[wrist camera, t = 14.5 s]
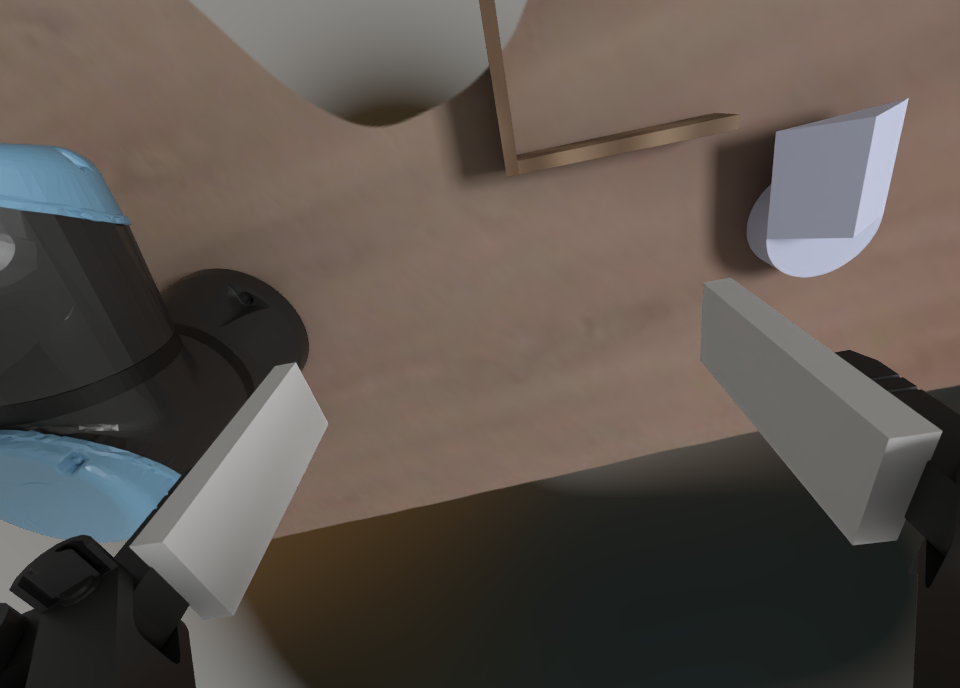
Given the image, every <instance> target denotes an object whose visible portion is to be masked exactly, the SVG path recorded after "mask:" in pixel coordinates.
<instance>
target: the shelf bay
mask: <svg viewBox="0 0 960 688" xmlns="http://www.w3.org/2000/svg"><path fill="white" fill-rule="evenodd" d="M479 3H480V10H481V16H482V22H483V29H484V35H485V41H486V48H487V54H488V61H489V67H490V73H491V80H492V86H493V92H494V99H495V105H496V111H497V118H498V124H499V131H500V137H501V143H502V150H503V156H504V162H505V169H506V175H507V177H509V176H514V175H519V174H523V173H528V172H533V171H538V170H543V169H548V168H553V167H558V166H562V165H567V164H572V163H577V162H582V161H587V160H592V159H596V158H601V157H606V156H611V155H616V154H621V153H626V152H630V151H635V150H640V149H645V148H650V147H655V146H660V145H664V144H669V143H674V142H679V141H684V140H689V139H694V138H698V137H703V136H708V135H713V134H718V133H723V132H728V131H733V130H737V129H738V127H739V116H740V114H723V113H713V114H708V115H704V116H699V117H694V118H689V119H685V120H680V121H675V122H671V123H666V124H661V125H656V126H652V127H647V128H642V129H638V130H633V131H628V132H623V133H619V134H614V135H609V136H604V137H600V138H595V139H590V140H586V141H581V142H576V143H571V144H567V145H562V146H557V147H553V148H548V149H543V150H538V151H534V152H529V153H524V154H519V155H516V149H515V142H514V135H513V128H512V121H511V114H510V107H509V100H508V93H507V86H506V79H505V72H504V65H503V58H502V51H501V44H500V37H499V30H498V23H497V16H496V9H495V2H494V0H479Z"/></svg>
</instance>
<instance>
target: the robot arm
mask: <svg viewBox="0 0 960 688" xmlns="http://www.w3.org/2000/svg"><path fill="white" fill-rule="evenodd" d="M129 225H131V223H130V220H129V219H128V217H126V216H124V215H123V213H122V211H121V210H120V208H119V206H118V204H117V202H116V201H115V199H114V197H113V195H112V193H111V192H110V190H109V188H108V186H107V184H106V182H105V180H104V178H103V176H102V174H101V173H100V171H99V170H98V169H97V168H96V166H95V165H94V164H93V163H92V162H90V161H89V160H88V159H87V158H85V157H84V156H82V155H80V154H78V153H76V152H74V151H72V150H69V149H66V148H62V147H57V146H48V145H31V144H7V143H0V519H1V520H3V521H6V522H8V523H10V524H13V525H16V526H18V527H21V528H23V529H26V530H29V531H32V532H36V533H39V534H42V535H46V536H50V537H53V538H58V539H63V540H65V541H63V542H61V543H58V544H56V545H55V546H53V547H52V548H50V549H49V550H47V551H46V552H44V553H43V554H41V555H40V556H39V557H38V558H36V559H35V560H34V561H33V562H31V563H30V564H29V565H28V566H27V567H26V568H25V569H24V570H23V571H22V572H21V573H20V574H19V576H18V577H17V578H16V579H15V581H14V582H13V584H12V586H11V588H10V591H11V592H13V593H14V594H15V595H17V596H18V597H20V598H21V599H22V600H23V601H25V602H26V603H28V604H29V605H30V606H32V607H33V608H34V609H33V610H31V611H28V612H25V613H23V614H20V613H19V612H17V611H16V610H15V609H13V608H12V607H10V606H9V605H8V604H6V603H0V688H196V686H195V678H194V670H193V662H192V654H191V647H190V639H189V632H188V629H187V627H186V625H185V623H184V622H182V621H181V618H182V616H183V615H184V613H185V611H186V610H187V608H188V606H190V607H191V608H192V609H194V610H195V611H196V612H197V613H198V614H199V615H200V616H201V617H202V618H203V619H211V618H220V617H229V616H233V615H234V614H235V612H236V609H237V607H238V605H239V603H240V601H241V599H242V597H243V595H244V593H245V591H246V589H247V587H248V585H249V583H250V581H251V579H252V577H253V575H254V573H255V571H256V569H257V567H258V565H259V563H260V561H261V559H262V557H263V555H264V553H265V551H266V549H267V547H268V545H269V543H270V541H271V539H272V537H273V535H274V533H275V531H276V529H277V527H278V525H279V523H280V521H281V519H282V517H283V515H284V513H285V511H286V509H287V507H288V505H289V503H290V501H291V499H292V497H293V495H294V493H295V491H296V489H297V487H298V485H299V483H300V480H301V478H302V476H303V474H304V472H305V470H306V468H307V466H308V464H309V462H310V460H311V458H312V456H313V454H314V452H315V450H316V448H317V446H318V444H319V442H320V440H321V438H322V436H323V434H324V432H325V430H326V428H327V426H328V422H327V420H326V418H325V417H324V415H323V413H322V411H321V409H320V407H319V405H318V403H317V401H316V399H315V398H314V396H313V394H312V392H311V390H310V388H309V386H308V384H307V382H306V380H305V379H304V377H303V375H302V373H301V371H302V370H303V368H304V366H305V364H306V361H307V358H308V352H309V343H308V337H307V332H306V329H305V327H304V324H303V322H302V320H301V318H300V317H299V315H298V313H297V312H296V310H295V309H294V308H293V306H292V305H291V304H290V303H289V302H288V301H287V300H286V299H285V298H284V297H283V296H282V295H281V294H280V293H279V292H278V291H276V290H275V289H274V288H272V287H271V286H269V285H268V284H266V283H265V282H263V281H261V280H259V279H257V278H255V277H253V276H250V275H248V274H245V273H242V272H238V271H233V270H227V269H207V270H202V271H198V272H195V273H193V274H191V275H189V276H187V277H185V278H183V279H182V280H180V281H178V282H176V283H175V284H173V285H172V286H171V287H169V288H168V289H167V290H166V291H165V292H164V293H163V294H162V296H161V295H160V293H159V290H158V288H157V286H156V284H155V282H154V280H153V278H152V276H151V274H150V271H149V269H148V267H147V265H146V262H145V260H144V258H143V256H142V254H141V251H140V249H139V247H138V245H137V242H136V240H135V238H134V236H133V233H132V231H131V229H130V227H129ZM700 360H701V362H702V363H703V364H704V365H705V366H706V368H707V369H708V370H709V371H710V372H711V374H712V375H713V376H714V377H715V379H716V380H717V381H718V382H719V383H720V385H721V386H722V387H723V388H724V389H725V391H726V392H727V393H728V394H729V395H730V397H731V398H732V399H733V400H734V402H735V403H736V404H737V405H738V406H739V408H740V409H741V410H742V411H743V412H744V414H745V415H746V416H747V417H748V419H749V420H750V421H751V422H752V423H753V425H754V426H755V427H756V428H757V429H758V431H759V432H760V433H761V434H762V436H763V437H764V438H765V439H766V440H767V442H768V443H769V444H770V445H771V446H772V447H773V449H774V450H775V451H776V453H777V454H778V455H779V456H780V457H781V459H782V460H783V461H784V462H785V463H786V465H787V466H788V467H789V468H790V470H791V471H792V472H793V473H794V474H795V476H796V477H797V478H798V479H799V480H800V482H801V483H802V484H803V485H804V486H805V488H806V489H807V490H808V491H809V492H810V494H811V495H812V496H813V497H814V499H815V500H816V501H817V502H818V503H819V505H820V506H821V507H822V508H823V510H824V511H825V512H826V513H827V514H828V516H829V517H830V518H831V519H832V520H833V522H834V523H835V524H836V525H837V527H838V528H839V529H840V530H841V531H842V533H843V534H844V535H845V536H846V537H847V539H848V540H849V541H850V542H851V544H852V545H858V544H867V543H876V542H885V541H893V540H897V539H898V536H899V534H900V532H901V529H902V527H903V525H904V522H905V520H906V519H907V520H908V521H909V522H910V523H911V524H912V525H913V526H914V527H915V528H916V529H917V530H918V531H919V532H920V533H921V534H922V535H923V536H924V539H923V541H922V543H921V546H920V548H919V550H918V552H917V554H916V556H915V559H914V561H913V563H912V565H911V567H910V569H909V571H908V574H911V575H913V576H917V574H918V585H917V586H918V587H917V608H916V631H915V654H914V677H913V688H960V415H959V414H958V413H956V412H955V411H953V410H952V409H950V408H949V407H947V406H946V405H944V404H942V403H941V402H940V401H938V400H937V399H935V398H934V397H932V396H931V395H929V394H928V393H926V392H925V391H923V390H922V389H921V390H918V389H917V386H916V385H914V384H912V383H911V382H909V381H908V380H906V379H905V378H903V377H902V378H900V377H899V374H897V373H896V372H894V371H893V370H891V369H890V368H888V367H887V366H885V365H884V364H882V363H881V362H879V361H878V360H875V359H873V358H870V357H867V356H864V355H862V354H859V353H856V352H854V351H851V350H847V351H841V352H835V353H834V352H833V351H831V350H830V349H828V348H827V347H826V346H824V345H823V344H821V343H820V342H819V341H817V340H816V339H815V338H813V337H812V336H810V335H809V334H808V333H806V332H805V331H803V330H802V329H801V328H799V327H798V326H797V325H795V324H794V323H792V322H791V321H790V320H788V319H787V318H785V317H784V316H783V315H781V314H780V313H779V312H777V311H776V310H774V309H773V308H772V307H770V306H769V305H767V304H766V303H765V302H763V301H762V300H761V299H759V298H758V297H756V296H755V295H754V294H752V293H751V292H749V291H748V290H747V289H745V288H744V287H743V286H741V285H740V284H738V283H737V282H736V281H734V280H733V279H732V278H726V279H721V280H716V281H711V282H706V283H703V303H702V328H701V353H700ZM126 539H129V540H128V541H127V542H126V543H125V545H124V546H123V547H122V548H121V550H120V551H119V552H118V553H117V554H116V556H115V557H112V556H111V555H110V554H109V553H108V552H107V551H106V550H105V549H104V548H103V547H102V546H101V545H100V544H98V543H108V542H117V541H123V540H126Z"/></svg>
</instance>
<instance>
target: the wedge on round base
mask: <svg viewBox="0 0 960 688" xmlns="http://www.w3.org/2000/svg"><path fill="white" fill-rule="evenodd" d="M908 99H909V98H907V99H903V100H900V101H896V102H892V103H888V104H884V105H880V106H876V107H872V108H868V109H864V110H860V111H856V112H852V113H848V114H844V115H840V116H836V117H832V118H828V119H824V120H820V121H816V122H812V123H808V124H804V125H800V126H796V127H792V128H788V129H784V130H780V131H776V137H775V148H774V160H773V171H772V183H771V185H770V186H768V187H767V188H766V189H765V191H764V192H763V193H762V194H761V195H760V197H759V198H758V200H757V201H756V203H755V204H754V206H753V208H752V210H751V213H750V215H749V218H748V222H747V241H748V244H749V246H750V248H751V250H752V252H753V253H754V254H755V255H756V256H757V257H759V258H760V259H761V260H763V261H765V262H766V263H768V264H770V265H771V266H773V267H775V268H776V269H778V270H780V271H782V272H783V273H785V274H788V275H791V276H796V277H813V276H818V275H822V274H825V273H828V272H831V271H833V270H835V269H837V268H839V267H841V266H843V265H844V264H846V263H847V262H849V261H850V260H852V259H853V258H854V257H855V256H857V255H858V254H859V253H860V252H861V251H862V250H863V249H864V248H865V247H866V245H867V244H868V243H869V242H870V240H871V239H872V238H873V236H874V235H875V233H876V231H877V229H878V227H879V225H880V223H881V220H882V217H883V213H884V208H885V204H886V199H887V195H888V190H889V186H890V181H891V176H892V172H893V167H894V163H895V158H896V154H897V149H898V145H899V140H900V135H901V131H902V126H903V122H904V117H905V113H906V108H907V104H908Z"/></svg>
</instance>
